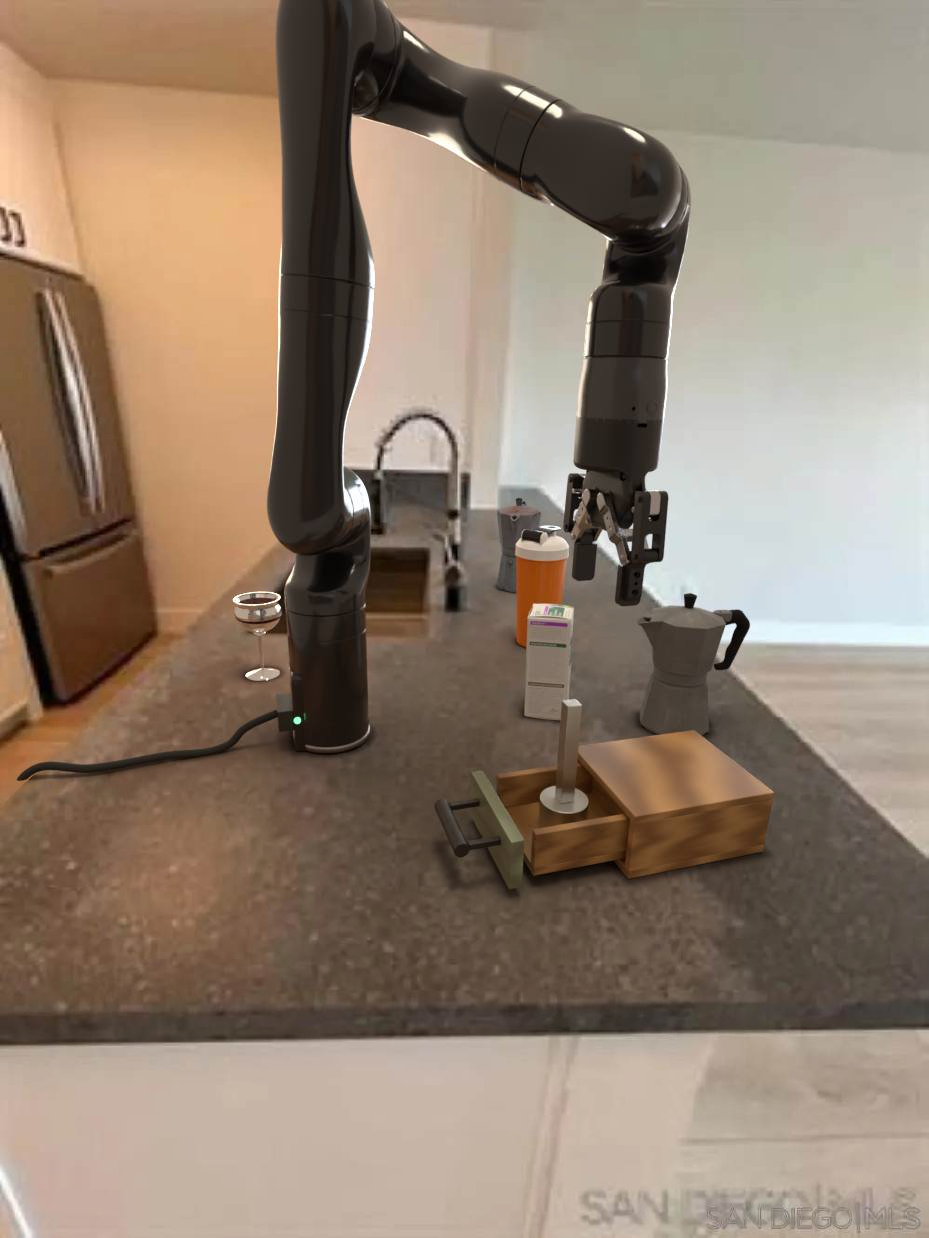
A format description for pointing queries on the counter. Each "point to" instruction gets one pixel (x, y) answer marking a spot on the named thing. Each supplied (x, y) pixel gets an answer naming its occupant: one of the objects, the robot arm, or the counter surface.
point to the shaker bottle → (539, 572)
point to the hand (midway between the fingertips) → (603, 591)
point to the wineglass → (258, 623)
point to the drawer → (536, 824)
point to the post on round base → (565, 774)
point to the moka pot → (513, 539)
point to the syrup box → (548, 660)
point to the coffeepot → (685, 663)
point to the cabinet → (680, 801)
